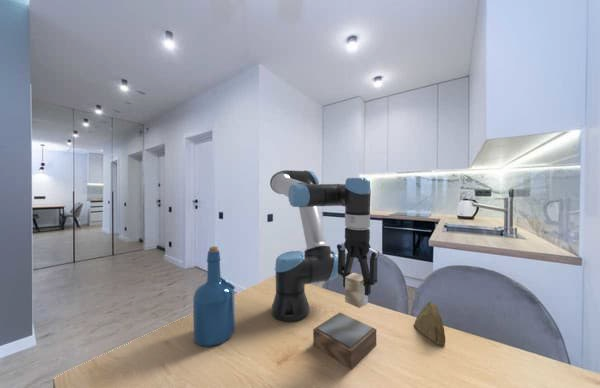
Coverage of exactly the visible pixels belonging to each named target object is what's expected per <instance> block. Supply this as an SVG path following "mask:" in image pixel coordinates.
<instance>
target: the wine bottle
mask: <svg viewBox="0 0 600 388" xmlns="http://www.w3.org/2000/svg"><path fill="white" fill-rule="evenodd" d="M218 249H219V248H218V246H215V245H214V246H210V247H209V249H208V251H207V258H206V262H207V266H206V267H207V271H206V272H207V273H206V281H205V282H203V283H202V284H201V285H200V286H199V285H198V287H197V288H196V289H195V290H194V293H193V299H192V300H193V301H192V302H193V303H192V305H193V309H192V310H193V311H192V312H193V315H192V316H193V340H194V342H195V343H196V344H197V343H198V345H199V346H200V347H213V346H217V345H221V344H223V343H225V342H227V341H228V340H229V339H230V338H231V337H232V335H233V334H234V333H235V329H236V320H235V319H236V317H235V315H236V313H235V311H236V310H235V309H236V308H235V287H236V286H235V285H233V284H231V283H230V282H229V281H227V279H224V278H223V277H222V276H221V254H220V253H221V252H220V250H218Z"/></svg>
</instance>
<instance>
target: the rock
mask: <svg viewBox="0 0 600 388" xmlns="http://www.w3.org/2000/svg"><path fill="white" fill-rule="evenodd" d="M413 327H414V328H416V330H417V331H418V332H419V333H421V334H422V335H423V336H425V337H427V338H428V339H429V340H431V341H433V342H434V343H435V344H436V345H438V346H445V345H446V335H445V327H444V324H443V320H442V317H441V315H440V312H439V309H438V307H437V305H436V304H435V303H433V302H431V301H429V302H428V303H427V304H426V305H425V306H424V307H423V308H422V310H421V311H420V313H419V314H418V315H417V317H416V319H415V321H414V324H413Z"/></svg>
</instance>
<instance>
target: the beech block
mask: <svg viewBox="0 0 600 388" xmlns="http://www.w3.org/2000/svg"><path fill="white" fill-rule="evenodd" d="M362 284H364V281H363V276H362V274H359V273H357V272H351V273H350V275H348V276H346V277H345V287H344V295H345V296H344V302H345V303H347V304H348V305H350V306H351V305H352V306H354V307H356V308H358V309H361V308H362V307H363V306H361V305H362Z"/></svg>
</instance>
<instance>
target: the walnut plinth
mask: <svg viewBox="0 0 600 388" xmlns="http://www.w3.org/2000/svg"><path fill="white" fill-rule="evenodd" d="M312 332H313V339H312V340H313V341H312V342H313V346H314V347H316V348H318V349H319V350H321V351H323V352H324V354H325V353H326V355H329V356H330V357H331V358H333V359H334V360H336V361H337V362H339V363H341V364H342V365H343V366H345V367H346V368H348V369H350V370H353V369H354V368H355V367H356V366H357V365H358V364H359V363H360V362H361V361H363V359H364V358H365V357H366V356H367V355H368V354H369V353H370V352H371V351H372V350H373V349H374V348H375V347H376V346H377V328H375V327H372V326H370V325H368V324H365V322H362V321H359V320H357V319H355V318H353V317H351V316H349V315H347V314H344V313H343V312H339V311H338V312H337V313H335V315H333V316H331V317H330V318H329V319H327V320H326V321H324V322H322V323H321V324H319V325H317V326H316V327H314V328H313V330H312Z"/></svg>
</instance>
